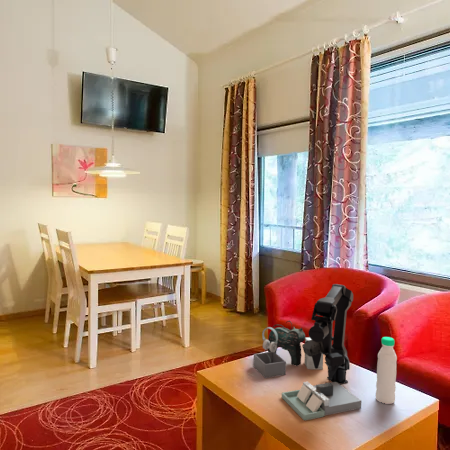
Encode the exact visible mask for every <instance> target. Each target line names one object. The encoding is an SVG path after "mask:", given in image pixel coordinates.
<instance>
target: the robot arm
mask: <svg viewBox="0 0 450 450" xmlns="http://www.w3.org/2000/svg"><path fill="white" fill-rule="evenodd" d="M353 301H354V293H353V291H352V290H351V289H349V288H348V287H346V286H345V285H344V284H338V283H333V284H332V286H331V288H330V289H329V291H328V293H327V295H326V296H325V297H322V298H319V299H318V300H317V301H316V302H315V304H314V305H313V306H314V307H313V310H312V314H311V321H314V323H313V325H312V326H311V327H310V328H309V329H308V338H311V339H312V340H307V341H306V342H305V341H304V343H303V344H302V346H301V348H302V349H303V352H304V355H305V354H307V355H308V356H310V357H311V356H312V359H313V363H314V366H315V369H314V370H318V369H317V368H318V366H319V363H320V359H321V355H322V354H323V356H324V360H325V361H324V363H325V365H326V366H327V378H326V379H328V380H329V381H330V383H332V382H337V383H339V384H340V385H341V384H342V385H343V384H348V382H349V380H347V379H346V378H347V371H348V370H350V368H351V365H350V359H349V357H348V350H347V349H346V347H345V346H346V345H345V336H346V325H347V324H346V323H347V312H348V310H349V309H350V307H351V306H352V303H353ZM333 323H334V327H333ZM333 328H334V329H333Z"/></svg>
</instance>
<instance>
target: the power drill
mask: <svg viewBox="0 0 450 450" xmlns="http://www.w3.org/2000/svg"><path fill="white" fill-rule="evenodd" d="M288 322H289V323H290V325H293V322H292V321H291V320H286V322H285V324H287V323H288ZM275 326H276V327H275ZM279 326H280V327H279ZM279 326H278V327H277V324H274V325H272V327H271V328H273V329H275V331H276V332H277V334H278V341H277V349H276V351H275V353H276V354H277V351H278V347H280V348H281V349H283V350H285V351H287V352H288V354H289V357H290V365H291V366H295V367H298V366H300V365H302V357H303V356H302V346H301V343H303V342H305V338H306V334H305V332H304V330H303V328H302V327H300V328H295V326H291V329H289V328H288V327H287V328H286V327H284V325H282V324H279ZM267 340H269V341H270V344H271V342H276V336H275V334H274V332H273V331H272V330H271V331H270V332H269V334H268V339H267ZM267 352H271V351H270V349H268V350H267Z"/></svg>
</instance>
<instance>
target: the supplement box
mask: <svg viewBox="0 0 450 450" xmlns="http://www.w3.org/2000/svg"><path fill="white" fill-rule="evenodd" d="M307 340H312V339H311V338H310V337H305V340H304V343H305V342H306V341H307ZM304 366H305V368H306V369H307V370H323V369H324V354H322V355H321V359H320V363H319V366H318V368H317V369H315V366H314V363H313V359H312V356H311V357H310V356H308V355H307V354H305V353H304Z"/></svg>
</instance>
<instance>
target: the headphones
mask: <svg viewBox="0 0 450 450" xmlns="http://www.w3.org/2000/svg"><path fill="white" fill-rule="evenodd" d="M266 330H271V331H273V332H274V334H275V336H276V342H271V344H270V341H269V340H268V339H267V338H266V337H265V332H266ZM261 332H262V333H261V336H262V341H263V343H262V349H264V350H265V352H264V353H266V352H267V351H268V349H270V351H271V352H275V351H276V349H277V350H278V348H277V341H278V334H277V332H276V331H275V328H274V327H273V328H272V327H271V326H268V327H266V328H264V329H263V330H262V331H261ZM276 352H277V351H276ZM266 354H267V353H266ZM267 355H268V354H267ZM268 357H269V356H268ZM269 358H270V357H269ZM270 362H271V360H270ZM269 364H270V363H269Z"/></svg>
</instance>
